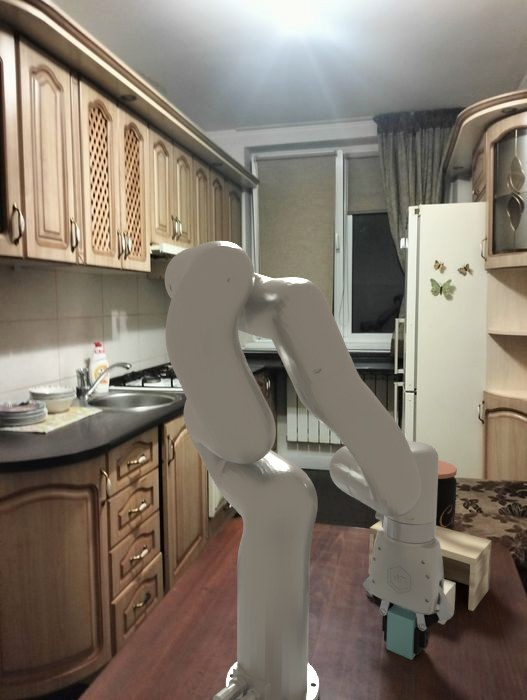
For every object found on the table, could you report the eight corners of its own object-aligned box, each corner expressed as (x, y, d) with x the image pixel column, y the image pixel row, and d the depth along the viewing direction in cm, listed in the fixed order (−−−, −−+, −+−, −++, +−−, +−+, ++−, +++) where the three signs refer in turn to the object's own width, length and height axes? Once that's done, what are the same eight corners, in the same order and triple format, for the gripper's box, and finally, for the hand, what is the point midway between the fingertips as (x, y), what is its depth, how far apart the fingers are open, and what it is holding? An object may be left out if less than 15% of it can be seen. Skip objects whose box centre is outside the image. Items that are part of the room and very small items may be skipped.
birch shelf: (473, 611, 92) (475, 558, 91) (368, 573, 105) (369, 527, 104) (489, 589, 99) (491, 540, 98) (389, 556, 112) (390, 513, 111)
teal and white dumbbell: (415, 661, 79) (416, 622, 79) (383, 647, 82) (384, 609, 82) (454, 611, 92) (455, 577, 92) (425, 600, 95) (426, 567, 95)
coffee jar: (446, 566, 108) (450, 477, 106) (393, 553, 113) (396, 468, 111) (458, 546, 117) (462, 463, 115) (409, 534, 122) (411, 455, 120)
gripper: (346, 519, 83) (343, 634, 85) (457, 552, 73) (451, 681, 74) (369, 505, 89) (366, 612, 91) (475, 533, 79) (469, 654, 80)
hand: (404, 642), depth 82 cm, fingers closed on teal and white dumbbell, 4 cm apart
